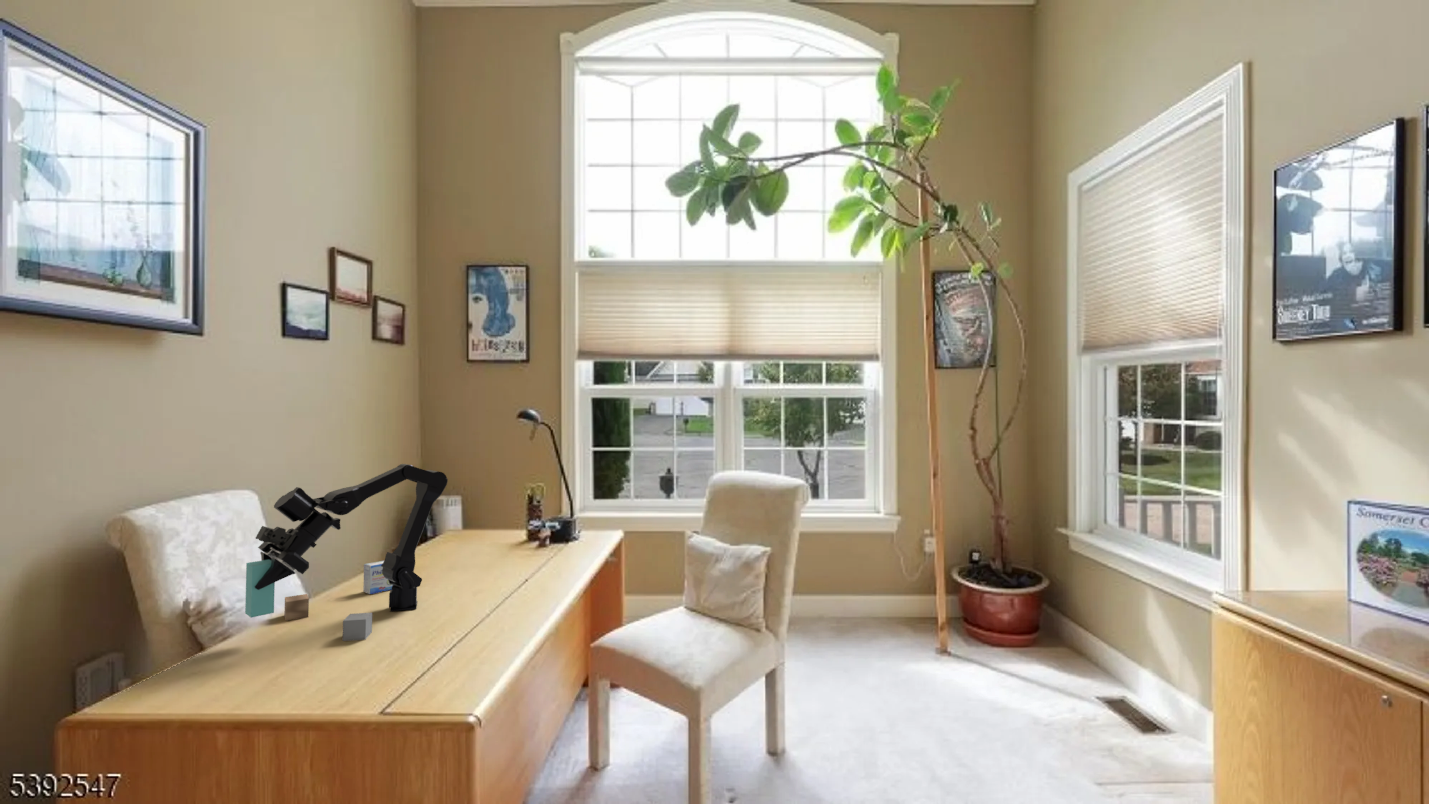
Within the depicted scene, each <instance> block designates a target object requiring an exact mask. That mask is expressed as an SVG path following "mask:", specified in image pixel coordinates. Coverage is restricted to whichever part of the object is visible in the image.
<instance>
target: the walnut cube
mask: <svg viewBox="0 0 1429 804" xmlns="http://www.w3.org/2000/svg"><path fill="white" fill-rule="evenodd" d="M309 603H310V598H309V595H308V593H304V594H297V595H291V596H285V597H284V610H283V611H284V620H285V621H292V620H291V619H293V620H298V619H304V618H309V611H310V610H309V609H310V608H309V605H310V604H309Z"/></svg>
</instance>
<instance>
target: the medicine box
mask: <svg viewBox="0 0 1429 804" xmlns="http://www.w3.org/2000/svg"><path fill="white" fill-rule="evenodd" d="M384 561H385V560H380V561H375V562H374V561H373V562H369V563H364V564H363V593H365V594H368V595H370V594H371V595H375V594H379V592H380V593H383V592H382V591H384V592H389V591H391V590H392V586H393V585H392V584H390V583H389V581H388V579H386V578H385V577H384V576H383V574H382V569H383V567H382V566H381V565H382V564H383V562H384Z"/></svg>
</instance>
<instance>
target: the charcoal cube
mask: <svg viewBox="0 0 1429 804" xmlns="http://www.w3.org/2000/svg"><path fill="white" fill-rule="evenodd" d="M372 632H373V612H359V613H349V614H348V615H347V616H346V617H345V618H344V619H343V620H342V642H348V641H364V640H365V641H366V640H367V639H368V637H369V636H370V635H371V634H372Z"/></svg>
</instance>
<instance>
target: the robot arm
mask: <svg viewBox="0 0 1429 804" xmlns="http://www.w3.org/2000/svg"><path fill="white" fill-rule="evenodd" d="M406 480H408V481H411V482H412V483H416V486H415V495H416V497H415V502H414V504H413V506H412V509H411V511H410V514H409V516H408V519H407V522H406V524H405V527H404V529H403V532H402V534H401V537H400V540H399V543H398V545H397V547H396V548H395V550H394V551H393V552H387V551H386V553H385V557H384V560H383V561H384V562H383V564H382V565H381V566H382V567H383V569H382V574H383V576H384V577H385V578H386V579H388V581H389V583H390V584H392V585H393V586H392V590H389V595H388V607H389V609H390V610H389V611H390V612H399V611H410V610H416V609H417V608H418V607H417V606H418V599H417V598H418V587H421V584H422V581H423V578H422V577H420V576H419V575H418V574H417V573H415V567H416V550H417V546H418V544H419V542H420V539H421V537H422V534H423V532H424V529H425V526H426V523H427V520H428V518H429V515H430V514H431V511H432V508H433V506H434V505H433V504H434V503H435V502H436V501H437V499H439V497H441V496H442V494H443V492H444V491H445V489H446V487H447V486H448V480H449V479H448V478H447V475H446V474H445V472H442V471H438V470H432V469H427V470H426V469H423V468H419V467H416V466H414V465H412V464H408V463H401V464H398V465H397V466H396V467H393V468H392V469H390V470H387V471H384V472H383V473H381V474H378V475H376V476H374V477H372V478H369V479H367V480H365V481H363V482H361V483H358V484H355V485H353V486H348V487H346V486H345V487H342V488H339V489H335V490H332V491H329V492H327V493H325V495H324V496H321V497H316V498H312V497H311V496H309V495H308V493H306V492H305V490H303V489H302V487H299V486H296V487H295V488H294V489H292V490H290V491H288V492H287V493H285V494H284V495H281V496H280V498H278V499H277V501H276V502H274V505H273V508H274V509H275V510H277V511H278V512H279V513H280V514H282V515H283V516H284V517H286V518H287V519H289V520H290V521H291V522H293V523H295V522H298V521H299V522H300V523H299V524H298V525H297V526H296V527H295V528H289V529H288V530H287V529H286V528H285V527H281V526H276V527H274V528H271V527H267V526H264V525H261V527H260V529H259V531H258V533H257V534H256V536H255V540H259V541H260V542H262V543H261V544H260V545H259V546H258V547H257V548H258V550H260V557H261V558H260V559H261V560H260V561H262V560H271V567H270V568H269V569H268V571H267V572H266V573H265V574H264V576H263V577H262V578H261V579H260V581H259V582H258V583H257V584H256V586H255V588H256V589H258V590H260V589H262V588H264V587H266V586H268V585H270V584H272V583H274V582H275V583H276V582H278V581H281V580H282V579H283V580H284V579H286V578H287V577H289V576H293V575H295V574H296V572H297V573H299V574H301V575H304V573H306V572H307V571H308V569H310V562H309V561H307V560H306V559H305V558H304V557H302V556H303V555H304V554H305V553H306V552H307V551H308V550H309V549H310V548H315V547H316V546H317V545H318V544H317V543H316V542H317V541H318V540H319V539H320V538H321V537H322V536H323V535H324V534H325V533H326V532H327V531H328V530H329V529H330V528H331V527H332V529H334V530H338V531H339V530H341V528H342V527H341V518H339V517H335V518H334V517H333V516H331V515H330V513H331V514H333V515H334V514H335V515H337V516H346V515H348V514H349V513H351V512H352V511H353V510H356V508H358V507H360V505H361V504H363V502H364V501H366V500H367V499H369V498H371V497H373V496H375V495H377V494H379V493H381V492H383V491H385V490H387V489H389V488H391V487H394V486H396V485H399V484H401V483H402V482H404V481H406ZM316 508H317V509H319V510H323V511H325V512H319V510H317V509H316ZM286 530H287V531H286ZM294 570H296V572H295V571H294Z"/></svg>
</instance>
